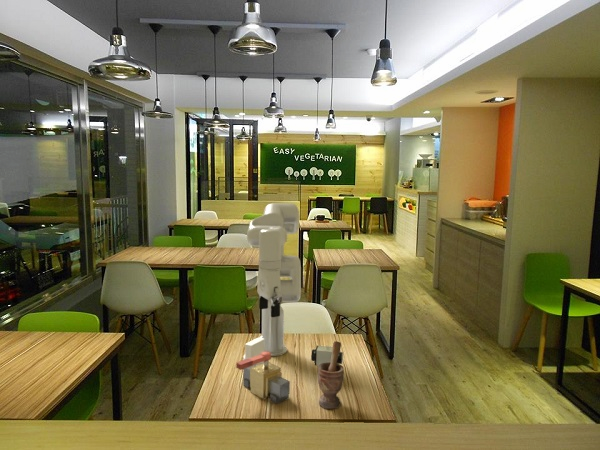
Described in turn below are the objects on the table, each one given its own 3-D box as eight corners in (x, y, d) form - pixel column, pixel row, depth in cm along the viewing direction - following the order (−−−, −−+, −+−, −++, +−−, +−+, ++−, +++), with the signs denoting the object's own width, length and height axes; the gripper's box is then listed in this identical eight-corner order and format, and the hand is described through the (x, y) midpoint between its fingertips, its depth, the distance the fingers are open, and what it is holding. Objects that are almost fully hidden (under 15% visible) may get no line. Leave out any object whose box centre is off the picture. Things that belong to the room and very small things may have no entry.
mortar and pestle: (317, 392, 162) (318, 338, 159) (341, 393, 162) (343, 339, 159) (317, 409, 150) (318, 352, 148) (343, 410, 150) (345, 353, 148)
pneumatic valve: (341, 380, 172) (341, 349, 170) (310, 376, 174) (311, 346, 173) (342, 373, 177) (343, 344, 176) (313, 370, 180) (313, 341, 178)
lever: (266, 355, 163) (266, 350, 163) (273, 358, 160) (273, 353, 160) (235, 367, 153) (235, 361, 153) (241, 370, 151) (241, 364, 150)
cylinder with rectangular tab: (256, 377, 173) (257, 347, 171) (238, 371, 177) (238, 342, 176) (270, 369, 180) (271, 340, 179) (252, 363, 185) (252, 335, 183)
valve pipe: (239, 385, 166) (239, 353, 165) (256, 378, 172) (256, 347, 170) (275, 406, 152) (276, 371, 150) (292, 398, 158) (293, 364, 156)
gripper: (250, 260, 162) (249, 307, 164) (270, 270, 147) (270, 321, 149) (269, 259, 166) (268, 304, 168) (291, 268, 151) (290, 318, 153)
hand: (269, 312), depth 158 cm, fingers open, 9 cm apart
